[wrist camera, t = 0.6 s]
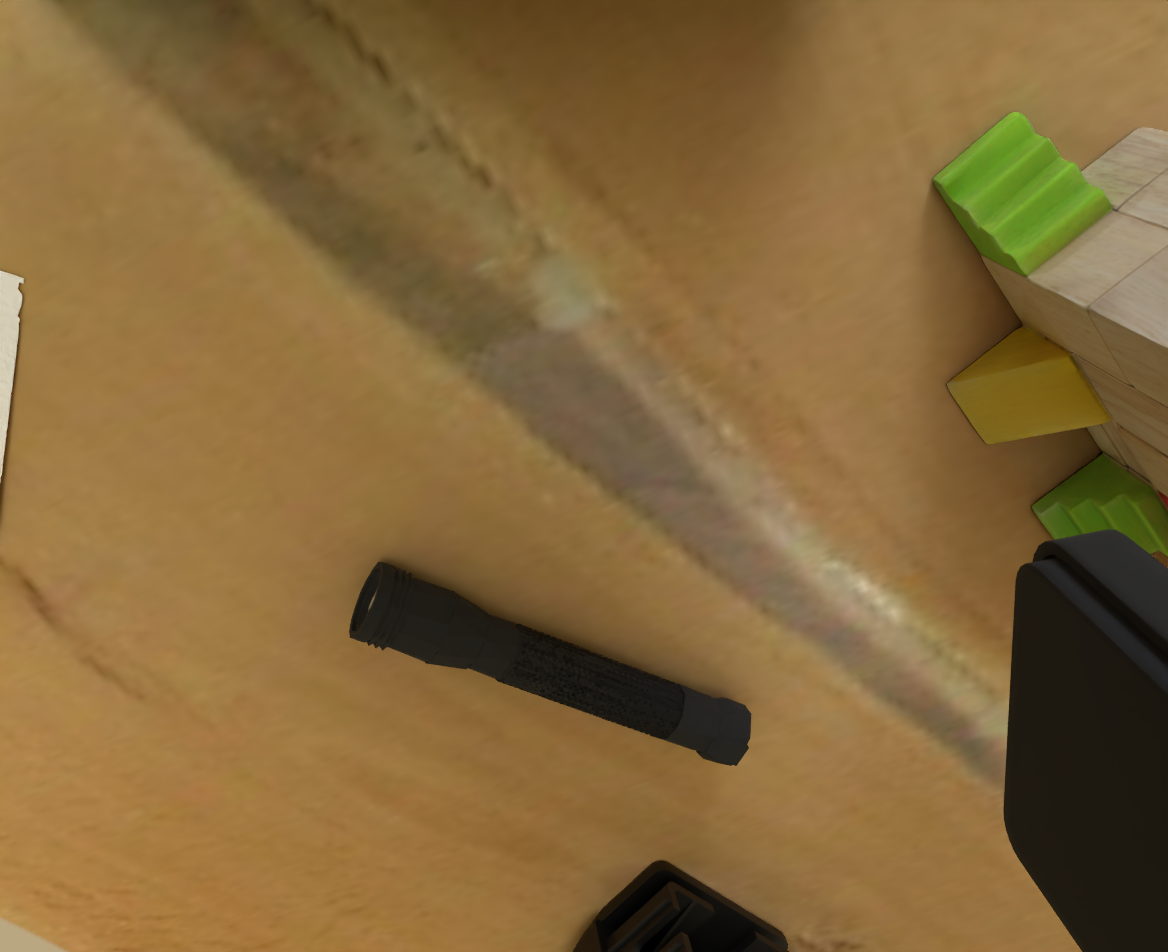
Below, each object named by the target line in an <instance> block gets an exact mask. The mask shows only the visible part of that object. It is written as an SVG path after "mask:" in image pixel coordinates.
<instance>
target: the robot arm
mask: <svg viewBox="0 0 1168 952" xmlns="http://www.w3.org/2000/svg"><path fill="white" fill-rule="evenodd" d="M1004 821H1005V827H1006V831H1007V834H1008V837H1009V840H1010V843H1011V845H1012V847H1013V850H1014V852H1015V853H1016V855H1017V857H1018V858H1019V860H1020V862H1021V863H1022V864H1023V866H1024V867H1025V869H1026V870H1027V872H1028V873H1029V875H1030V876H1031V878H1032V879H1033V880H1034V882H1035V883H1036V885H1037V886H1038V888H1039V889H1040V891H1041V892H1042V894H1043V895H1044V897H1045V898H1046V899H1047V901H1048V902H1049V904H1050V905H1051V907H1052V908H1053V910H1054V911H1055V913H1056V914H1057V915H1058V917H1059V918H1060V920H1061V921H1062V923H1063V924H1064V926H1065V927H1066V929H1067V930H1068V931H1069V933H1070V934H1071V936H1072V937H1073V939H1074V940H1075V942H1076V943H1077V945H1078V946H1079V947H1080V949H1081V950H1082V952H1168V568H1166V567H1165V566H1164V565H1163V564H1161V563H1160V562H1159V561H1158V560H1156V559H1155V558H1154V557H1153V556H1151V555H1150V554H1149V553H1148V552H1146V551H1145V550H1144V549H1143V548H1141V547H1140V546H1139V545H1138V544H1136V543H1135V542H1134V541H1133V540H1131V539H1130V538H1129V537H1128V536H1126V535H1125V534H1123V533H1121V532H1119V531H1117V530H1111V529H1106V530H1101V531H1096V532H1091V533H1086V534H1081V535H1076V536H1071V537H1066V538H1061V539H1056V540H1050V541H1045V542H1044V543H1042V544H1041V545H1039V546H1038V548H1037V550H1036V552H1035V554H1034V558H1033V562H1032V563H1027V564H1024V565H1023V566H1021V567H1020V569H1019V571H1018V573H1017V577H1016V586H1015V605H1014V623H1013V642H1012V661H1011V680H1010V698H1009V717H1008V736H1007V755H1006V773H1005V792H1004Z"/></svg>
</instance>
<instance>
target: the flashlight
mask: <svg viewBox="0 0 1168 952" xmlns="http://www.w3.org/2000/svg"><path fill="white" fill-rule="evenodd" d="M349 633H350V638H353V639H355V640H358V641H361V642H367V644H368V646H369V645H371V644H374V646H375V648H377V647H379V646H380V647H381V649H382V650H384V649H385V648H386V647H389V648H392V649H394V650H397V651H399V652H402V653H404V654H407V655H409V656H412V657H415V658H417V659H420V660H422V661H425V663H427V664H434V665H441V666H448V667H455V668H461V669H467V668H469V669H472V670H474V671H477V672H480V673H482V674H485V675H487V676H490V677H492V678H495V679H496V680H497V681H499V682H502V683H505V684H506V683H507V685H510V686H514V687H515V688H519V689H521V690H524V691H527V692H530V693H532V694H535V695H539V696H541V697H543V698H546V699H549V700H552V701H555V702H558V703H560V704H563V705H564V704H565V705H567V706H571V708H572V707H573V708H575V709H576V708H577V710H578V709H579V710H580V711H584V712H586V713H587V712H588V713H589V714H590V713H591V715H593V714H594V716H597V717H598V716H599V717H601V718H602V719H604V718H605V720H607V719H608V721H611V722H616V723H617V724H619V725H620V724H621V725H622V726H625V727H626V726H627V727H629V728H633V729H635V730H636V731H637V730H638V732H639V731H640V732H644V733H645V734H647V735H648V734H650V735H651V736H653V737H654V736H655V738H656V737H657V738H658V739H659V738H660V739H663V740H666V741H669V742H672V743H675V744H677V745H680V746H683V747H686V748H689V749H692V750H696V752H697V753H698V754H699V755H700V756H701V757H702V758H703V759H706V760H710V761H713V762H716V763H720V764H725V765H730V766H732V765H735V766H737V764H738V763H739V761H740V760H741V758H742V757H743V756H744V754H745V753H746V751H747V750H748V749H749V747H748V745H747V743H748V741H749V739H750V731H751V713H750V712H749V710H748V709H747V708H746V706H745V705H743V704H740V703H738V702H735V701H732V700H730V699H727V698H712V697H710V696H707V695H705V694H702V693H700V692H697V691H695V690H692V689H690V688H687V687H685V686H683V685H680V684H675V683H674V682H670V681H668V680H665V679H662V678H660V677H657V676H655V675H652V674H649V673H647V672H644V671H641V670H640V669H636V668H633V667H631V666H629V665H626V664H622V663H620V662H618V661H613V659H612V660H611V659H608V658H607V657H602V655H599V654H596V653H593V652H590V651H588V650H585V649H583V648H579V647H578V646H574V645H573V644H570V643H569V644H568V643H567V642H564V641H562V640H559V639H558V640H557V639H556V638H555V637H550V636H549V635H545V634H544V633H541V632H538V631H536V630H533V629H531V628H528V627H526V626H523V625H521V624H515V623H513V622H510V621H507V620H504V619H501V618H498V617H495V616H492V615H489V614H488V613H487V612H485V611H484V610H482V609H481V608H479V607H477V606H476V605H474V604H473V603H471V602H470V601H468V600H466V599H465V598H463V597H462V596H460V595H459V594H457V593H455V592H454V591H450V590H447V589H445V588H442V587H439V586H436V585H433V584H430V583H427V582H424V581H421V580H418V579H416V578H413V577H412V574H411V573H409V574H407V572H406V571H405V570H404V571H401V570H400V569H397V570H396V569H395V567H394V566H392V565H389V564H386V563H383V562H378V563H377V565H376V566H375V567H374V568H373V570H372V572H371V573H370V575H369V577H368V578H367V580H366V582H365V584H364V586H363V588H362V590H361V592H360V595H359V598H358V600H357V603H356V606H355V609H354V613H353V616H352V620H351V624H350V630H349Z"/></svg>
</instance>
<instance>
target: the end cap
mask: <svg viewBox="0 0 1168 952" xmlns="http://www.w3.org/2000/svg"><path fill="white" fill-rule="evenodd" d="M787 948H788V944H787V941H786V938H785V936H784V935H783V933H782V932H780V931H779V930H777V929H775V928H774V927H772V926H770V925H769V924H767V923H765V922H764V921H762V920H761V919H759V918H757V917H756V916H754V915H752V914H751V913H749V912H748V911H746V910H744V909H743V908H741V907H739V906H738V905H736V904H734V903H733V902H731V901H730V900H728V899H726V898H725V897H723V896H721V895H720V894H718V893H716V892H715V891H713V890H712V889H710V888H708V887H707V886H705V885H703V884H702V883H700V882H699V881H697V880H695V879H694V878H692V877H690V876H689V875H687V874H685V873H684V872H682V871H681V870H679V869H677V868H676V867H674V866H672V865H671V864H669V863H667V862H663V861H660V862H655V863H654V864H652V865H650V866H649V867H648V868H647V869H646V870H645V871H644V872H643V873H642V874H641V875H639V876H638V877H637V878H636V879H635V880H634V881H633V882H632V883H631V884H630V885H629V886H628V887H626V888H625V889H624V890H623V891H622V892H621V893H620V894H619V895H618V896H617V897H616V898H614V899H613V900H612V901H611V902H610V903H609V904H608V905H607V906H606V907H605V908H604V909H603V910H602V911H601V912H600V913H599V915H598V916H597V917H596V919H595V920H594V921H593V922H592V924H591V925H590V927H589V928H588V929H587V930H586V931H585V933H584V934H583V935H582V937H581V938H580V940H579V942H578V943H577V945H576V947H575V949H574V950H573V952H789V951H787Z"/></svg>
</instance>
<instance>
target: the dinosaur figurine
mask: <svg viewBox="0 0 1168 952" xmlns="http://www.w3.org/2000/svg"><path fill="white" fill-rule="evenodd" d="M23 280H24V278H21V277H19V276H16V275H13V274H10V273H7V272H3V271H0V478H1V475H2V468H3V467H2V464H3V459H4V458H3V456H4V451H5V449H4V448H5V443H6V442H5V440H6V437H7V435H6V431H7V428H8V417H9V410H10V409H9V407H10V401H11V400H10V399H11V392H12V386H13V385H12V384H13V375H14V369H15V368H14V367H15V360H16V350H17V345H18V344H17V343H18V337H19V336H18V333H19V325H18V324H19V322H20V318H19V317H18V313H19V309H20V308H21V305H22V294H21V293H20V291H19V290H18V286H19V282H20V283H24V282H23ZM0 481H1V480H0Z"/></svg>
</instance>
